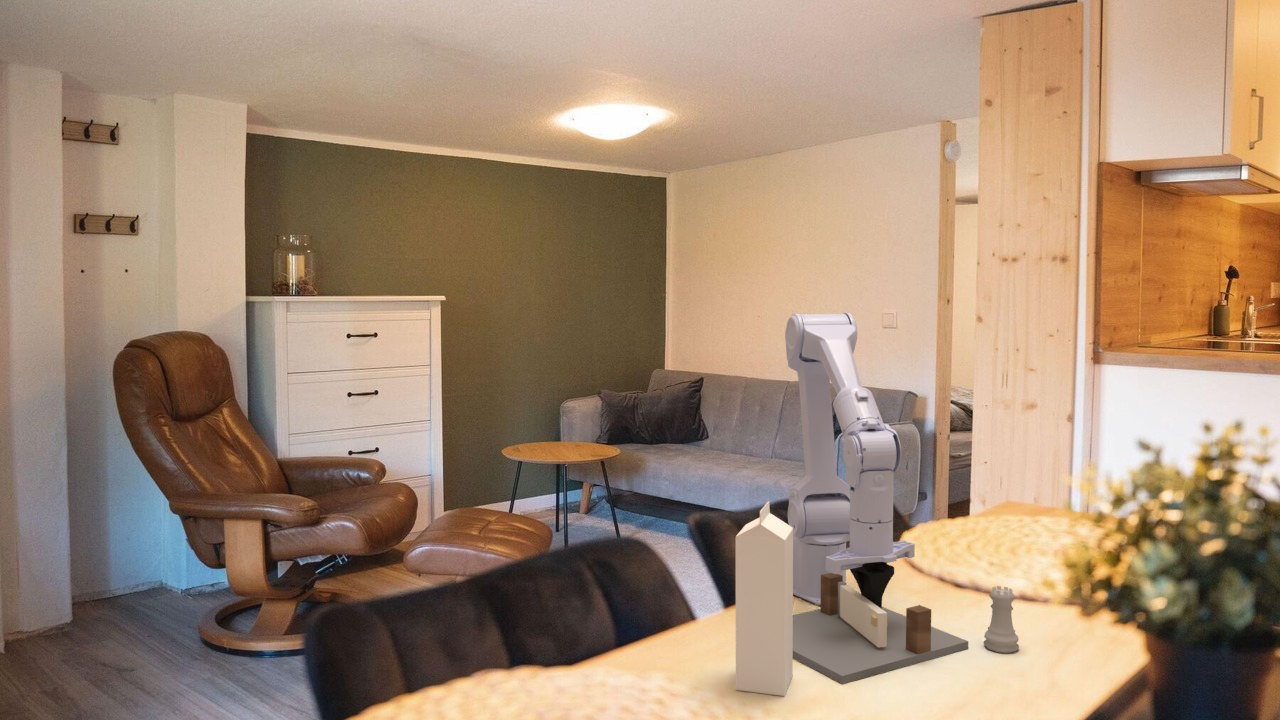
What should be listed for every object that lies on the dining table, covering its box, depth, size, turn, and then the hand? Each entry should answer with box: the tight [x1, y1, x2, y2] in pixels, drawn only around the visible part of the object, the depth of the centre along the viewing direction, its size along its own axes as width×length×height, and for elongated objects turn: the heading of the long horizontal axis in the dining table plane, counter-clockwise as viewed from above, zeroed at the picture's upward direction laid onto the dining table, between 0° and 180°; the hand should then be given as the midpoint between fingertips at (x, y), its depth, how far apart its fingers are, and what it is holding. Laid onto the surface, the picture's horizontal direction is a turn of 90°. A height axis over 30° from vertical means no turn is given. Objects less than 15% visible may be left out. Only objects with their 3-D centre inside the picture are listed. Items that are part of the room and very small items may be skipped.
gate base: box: [793, 606, 969, 685], centre depth 130 cm, size 20×22×1 cm
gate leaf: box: [838, 581, 888, 647], centre depth 130 cm, size 13×2×5 cm, turn 12°
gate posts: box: [820, 573, 932, 654], centre depth 131 cm, size 19×2×6 cm, turn 30°
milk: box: [735, 500, 794, 697], centre depth 115 cm, size 6×6×22 cm
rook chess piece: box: [983, 585, 1020, 654], centre depth 127 cm, size 4×4×8 cm
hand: (870, 615), depth 130 cm, fingers closed, pressing on gate leaf
